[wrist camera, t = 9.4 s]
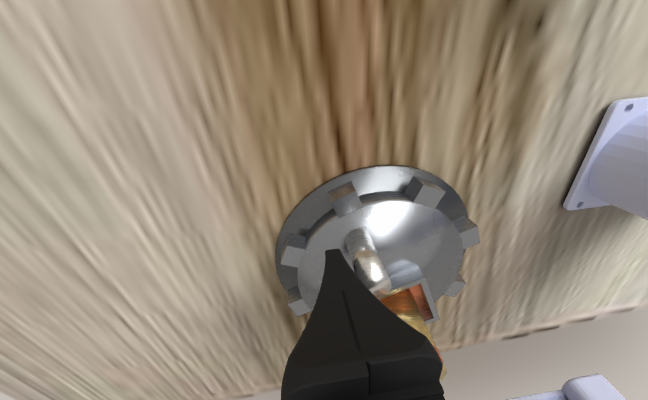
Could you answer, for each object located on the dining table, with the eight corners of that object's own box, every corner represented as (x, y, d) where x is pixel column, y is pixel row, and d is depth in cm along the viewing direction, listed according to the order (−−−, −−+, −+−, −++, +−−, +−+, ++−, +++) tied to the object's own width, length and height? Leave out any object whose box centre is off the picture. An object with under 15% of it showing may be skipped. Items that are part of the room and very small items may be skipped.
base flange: (488, 151, 16) (492, 153, 16) (449, 303, 23) (451, 307, 23) (255, 180, 15) (254, 182, 15) (292, 328, 22) (292, 332, 22)
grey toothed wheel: (484, 163, 16) (568, 206, 11) (447, 306, 22) (489, 371, 18) (265, 191, 15) (251, 250, 10) (297, 329, 22) (298, 404, 17)
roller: (418, 287, 18) (453, 361, 14) (410, 314, 20) (439, 387, 15) (374, 290, 18) (396, 366, 13) (370, 317, 19) (388, 391, 15)
